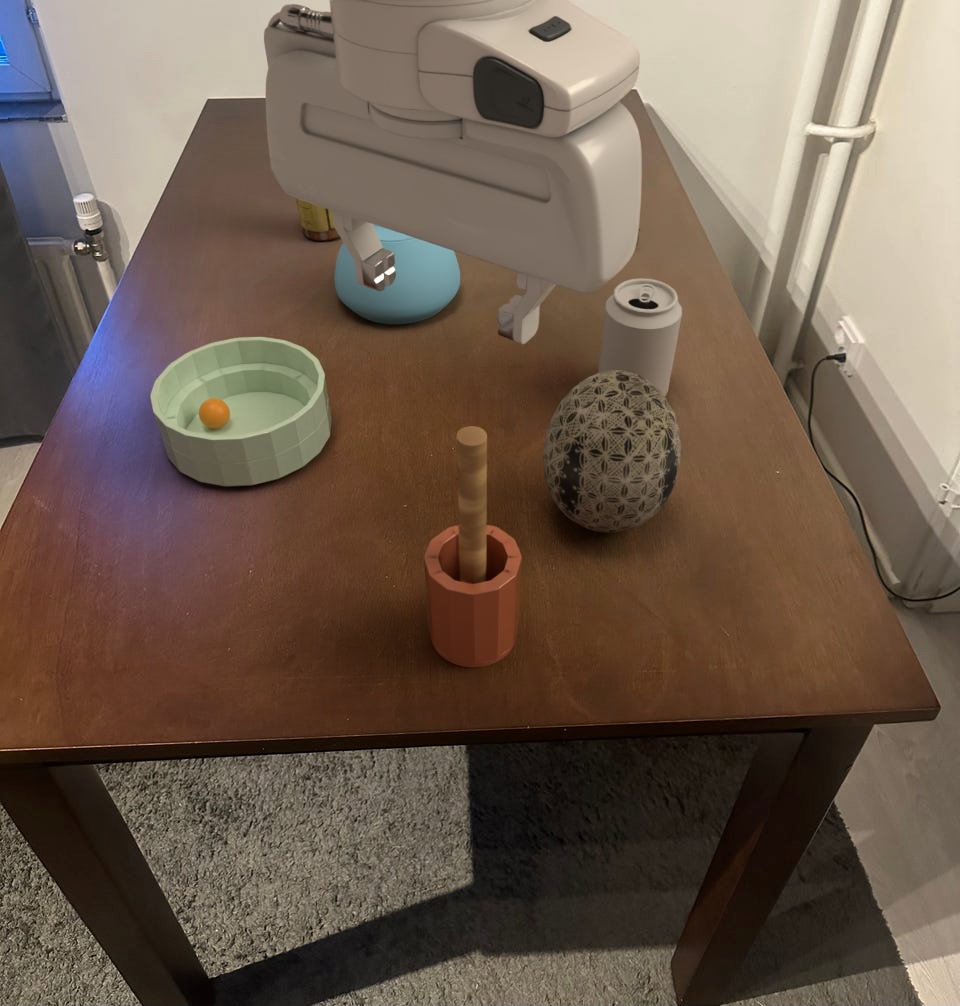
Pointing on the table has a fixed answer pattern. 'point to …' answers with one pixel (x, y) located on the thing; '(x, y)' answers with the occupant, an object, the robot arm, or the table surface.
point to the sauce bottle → (316, 221)
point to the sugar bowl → (401, 281)
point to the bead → (214, 413)
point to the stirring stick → (472, 503)
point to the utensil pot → (473, 600)
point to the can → (641, 330)
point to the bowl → (243, 410)
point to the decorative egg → (612, 452)
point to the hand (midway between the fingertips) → (444, 308)
